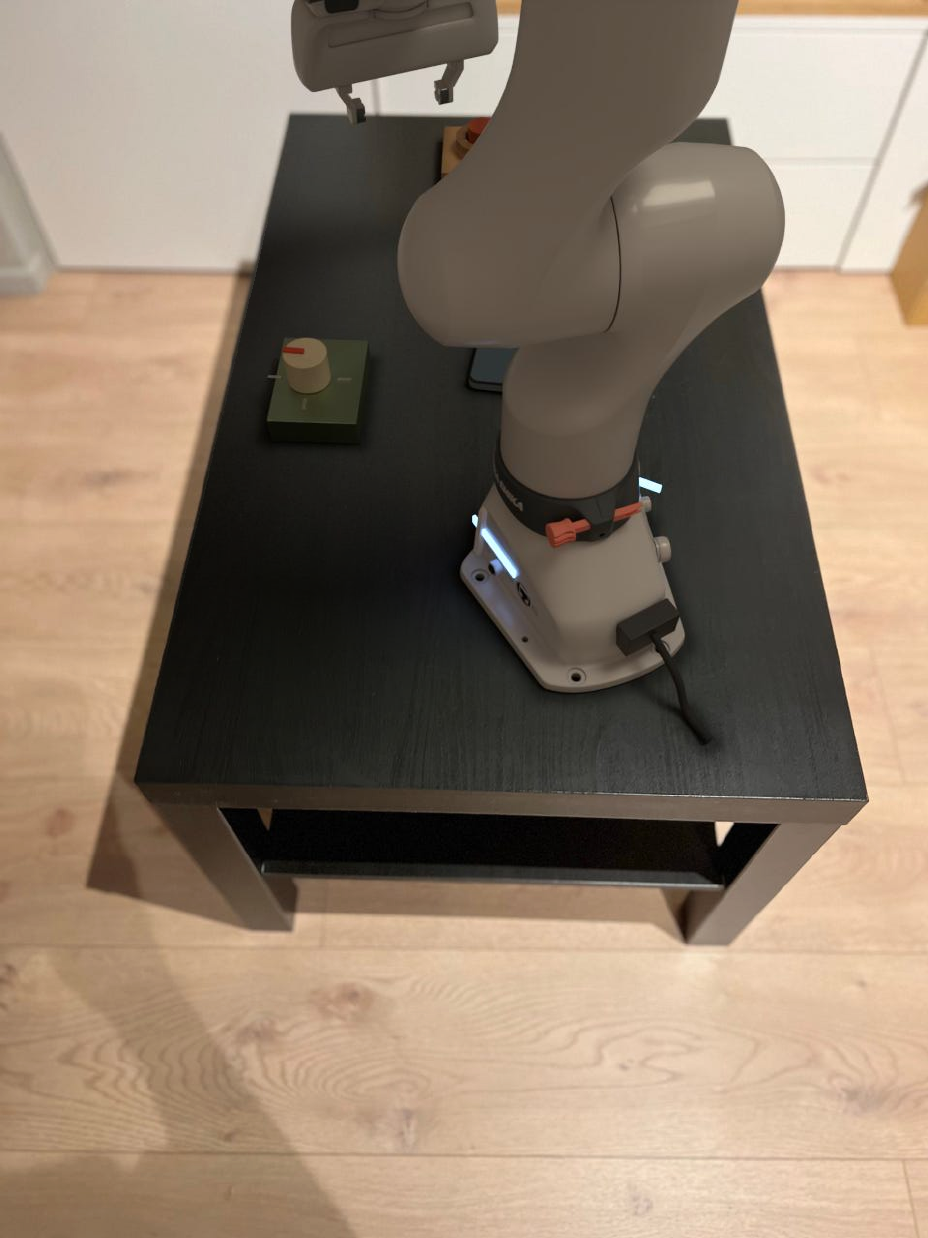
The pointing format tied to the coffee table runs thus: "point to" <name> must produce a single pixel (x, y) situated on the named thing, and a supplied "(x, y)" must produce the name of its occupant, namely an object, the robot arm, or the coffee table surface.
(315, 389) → the knob
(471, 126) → the button
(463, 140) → the button block
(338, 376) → the panel
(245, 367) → the coffee table surface
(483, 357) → the smartphone
